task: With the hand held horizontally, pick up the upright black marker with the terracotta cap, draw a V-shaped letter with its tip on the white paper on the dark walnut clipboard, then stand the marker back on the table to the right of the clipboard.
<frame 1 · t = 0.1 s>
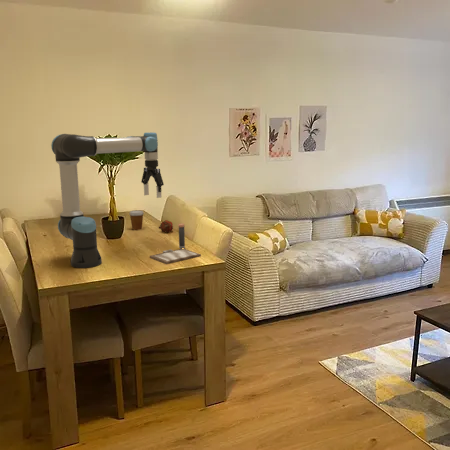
hand: (152, 196, 275), 28 cm above the table, tool pointing down, fingers open, 13 cm apart
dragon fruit: (166, 232, 308), on the table
marker: (182, 248, 268), on the table
disposable coffee cup: (137, 229, 317), on the table
clipboard: (175, 256, 251), on the table
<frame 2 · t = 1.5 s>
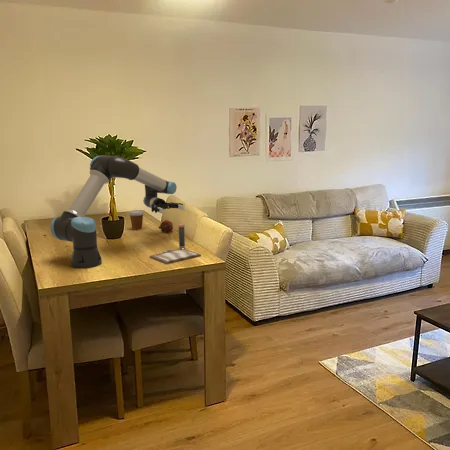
hand: (173, 209, 271), 21 cm above the table, tool horizontal, fingers open, 13 cm apart
nothing on the table moved.
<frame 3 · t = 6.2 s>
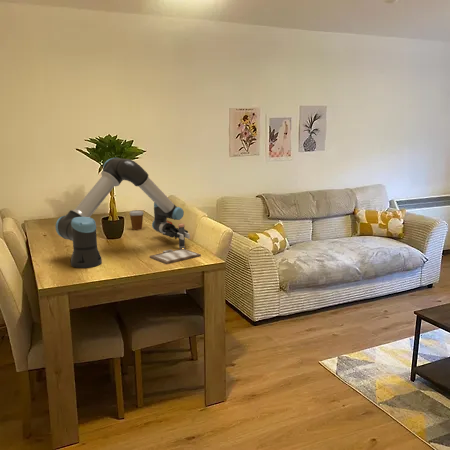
hand: (186, 236, 262), 8 cm above the table, tool horizontal, fingers closed on marker, 3 cm apart
marker: (182, 248, 268), on the table, touching gripper
everything else where it was.
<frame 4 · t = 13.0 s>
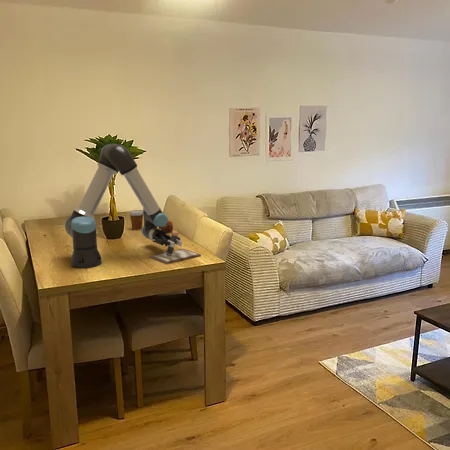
hand: (177, 244, 242), 9 cm above the table, tool horizontal, fingers closed on marker, 3 cm apart
marker: (169, 254, 250), point 2 cm above the table, tilted 22°, touching clipboard, gripper
everything else where it was.
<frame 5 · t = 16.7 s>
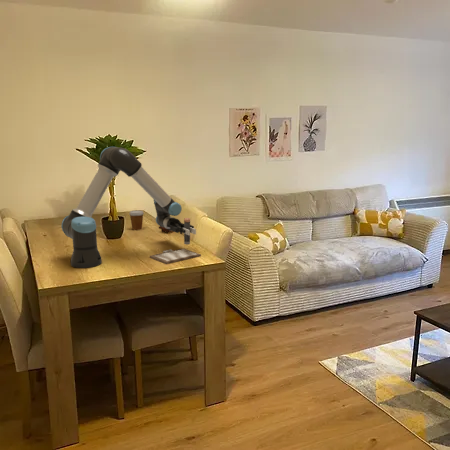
hand: (192, 232, 251), 13 cm above the table, tool horizontal, fingers closed on marker, 3 cm apart
marker: (187, 243, 257), point 5 cm above the table, touching gripper
everything else where it was.
when the fingers open (9 cm above the table, at t = 19.9 s): marker drops 2 cm, on the table.
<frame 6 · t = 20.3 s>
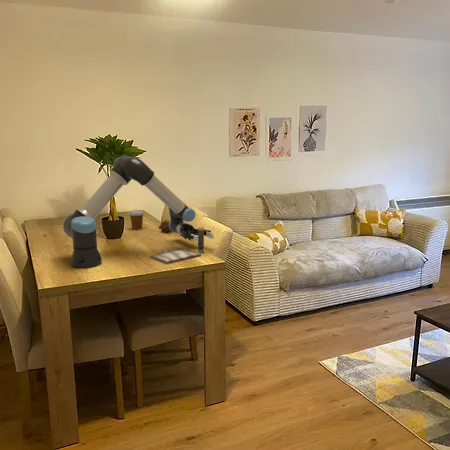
hand: (205, 237, 254), 9 cm above the table, tool horizontal, fingers open, 9 cm apart
marker: (200, 251, 260), on the table
everything else where it was.
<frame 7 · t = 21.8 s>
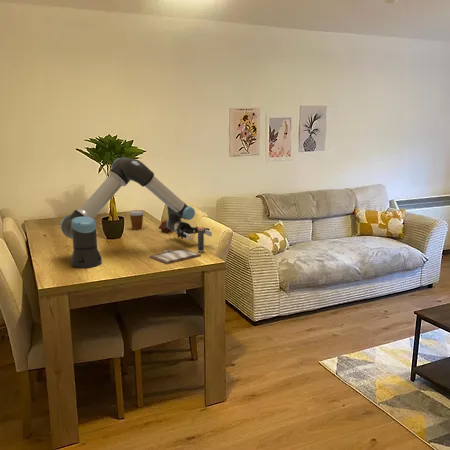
hand: (200, 235, 259), 9 cm above the table, tool horizontal, fingers open, 13 cm apart
nothing on the table moved.
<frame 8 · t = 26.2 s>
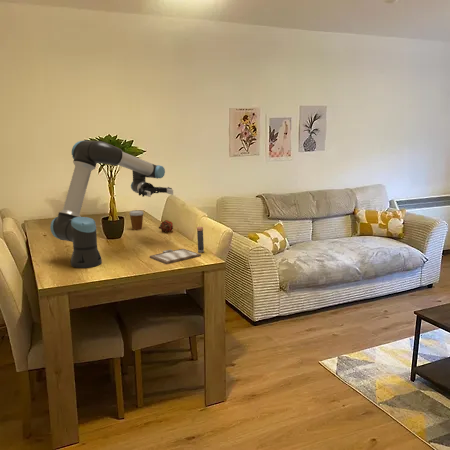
hand: (161, 193, 259), 32 cm above the table, tool horizontal, fingers open, 13 cm apart
nothing on the table moved.
at the end: marker inside the target area (0.4 cm from its centre), on the table; marker tilted 2°; the gripper is holding nothing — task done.
